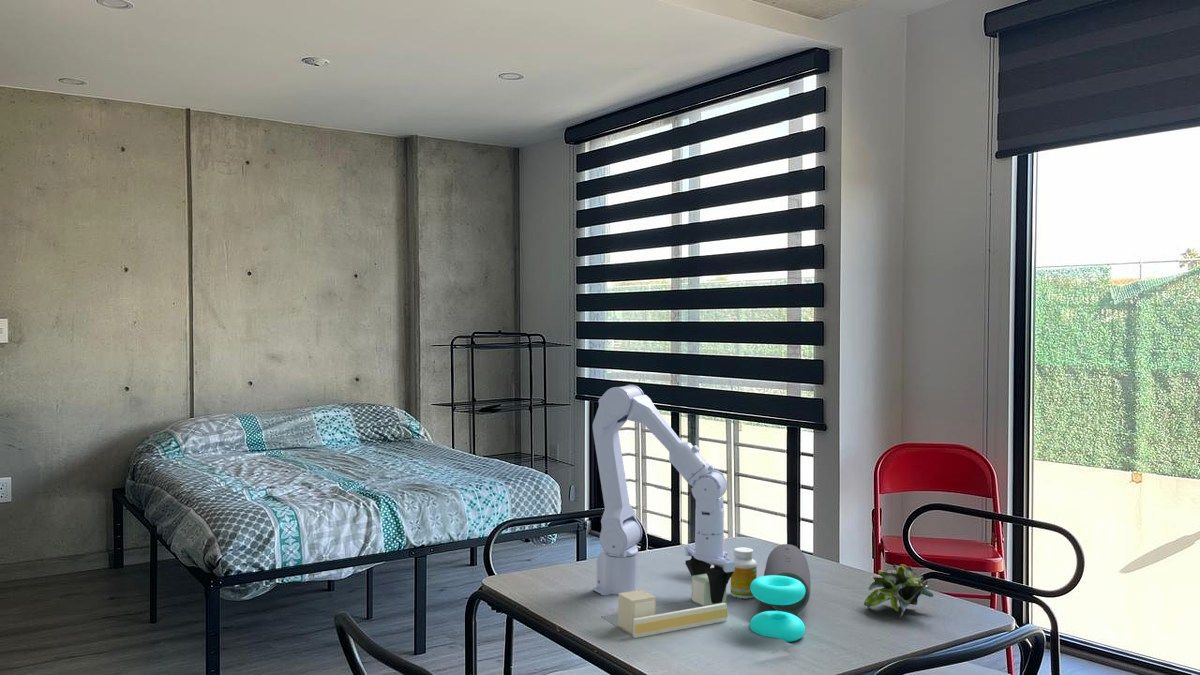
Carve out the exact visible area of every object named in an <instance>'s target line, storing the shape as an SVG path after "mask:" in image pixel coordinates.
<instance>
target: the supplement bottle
mask: <svg viewBox="0 0 1200 675" xmlns="http://www.w3.org/2000/svg"><path fill="white" fill-rule="evenodd" d="M733 550H734V551H733V552H734V553H733V556H734V558H732V559H731V560H732V561H734V562H735V571H734V573H733V574H732V576H731V577H730V595H731V596H732V597H734V598H736V597H737V599H742V598H743V600H745V599H748V598H749V599H753V598H755V597H754V596H753V594H752V593H751V590H750V585H751V583H752V581H753V580H754V579H756V578H757V570H758V569H757V565H758V564H757V561H756V560H755V559H753V557H754V549H753V548H750V547H742V546H741V547H736V548H733Z"/></svg>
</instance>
